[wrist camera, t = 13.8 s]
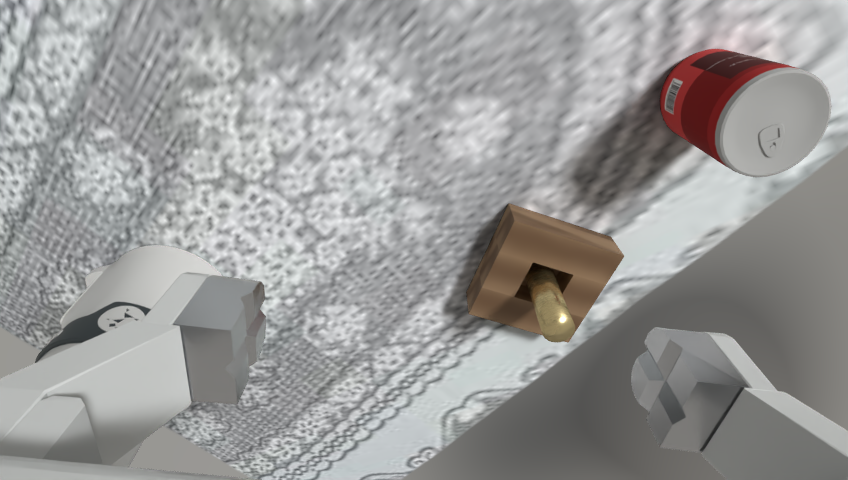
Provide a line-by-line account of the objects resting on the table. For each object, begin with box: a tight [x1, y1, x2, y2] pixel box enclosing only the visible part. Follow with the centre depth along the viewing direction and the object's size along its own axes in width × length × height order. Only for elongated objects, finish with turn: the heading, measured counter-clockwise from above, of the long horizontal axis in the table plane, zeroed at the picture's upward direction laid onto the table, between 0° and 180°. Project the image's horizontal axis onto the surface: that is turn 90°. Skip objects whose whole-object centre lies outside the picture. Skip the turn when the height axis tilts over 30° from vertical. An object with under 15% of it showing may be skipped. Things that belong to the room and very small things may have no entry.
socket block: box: [466, 204, 624, 342], centre depth 51 cm, size 12×12×4 cm
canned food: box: [660, 49, 831, 177], centre depth 39 cm, size 8×8×11 cm
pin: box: [525, 263, 575, 342], centre depth 48 cm, size 3×3×10 cm
